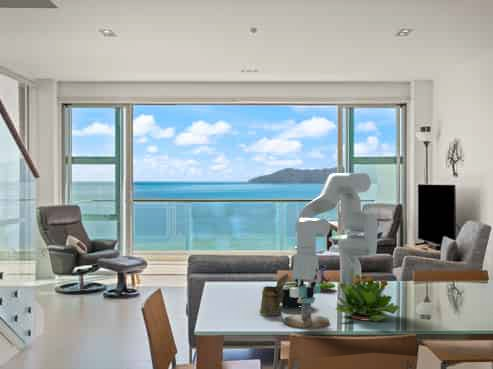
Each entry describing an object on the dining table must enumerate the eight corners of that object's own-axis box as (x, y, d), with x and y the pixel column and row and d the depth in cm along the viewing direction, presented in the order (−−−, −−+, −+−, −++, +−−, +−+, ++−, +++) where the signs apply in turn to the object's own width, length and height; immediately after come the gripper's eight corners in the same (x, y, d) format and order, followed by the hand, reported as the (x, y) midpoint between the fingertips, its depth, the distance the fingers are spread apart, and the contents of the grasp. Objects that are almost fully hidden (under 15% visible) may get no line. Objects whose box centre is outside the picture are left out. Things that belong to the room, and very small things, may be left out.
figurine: (336, 293, 301) (337, 263, 300) (311, 292, 301) (311, 262, 301) (333, 287, 314) (333, 259, 314) (309, 287, 315) (309, 259, 315)
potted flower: (346, 326, 233) (346, 281, 233) (321, 313, 256) (321, 272, 256) (403, 322, 240) (403, 278, 240) (374, 309, 263) (374, 269, 263)
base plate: (324, 317, 249) (324, 297, 249) (333, 328, 231) (333, 307, 231) (280, 317, 248) (280, 298, 248) (287, 328, 230) (287, 308, 230)
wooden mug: (280, 319, 246) (280, 275, 246) (255, 314, 255) (255, 271, 254) (293, 315, 253) (293, 272, 252) (268, 310, 261) (268, 269, 261)
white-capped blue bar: (312, 298, 246) (312, 283, 246) (323, 301, 241) (323, 285, 241) (287, 303, 237) (287, 287, 237) (297, 305, 232) (297, 289, 232)
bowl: (314, 303, 276) (314, 281, 276) (307, 311, 260) (307, 288, 260) (278, 301, 281) (278, 279, 281) (269, 309, 264) (269, 286, 264)
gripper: (284, 249, 242) (283, 295, 242) (317, 253, 231) (317, 301, 231) (295, 248, 247) (295, 292, 247) (329, 251, 236) (328, 298, 237)
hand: (306, 296), depth 239 cm, fingers closed on white-capped blue bar, 3 cm apart
